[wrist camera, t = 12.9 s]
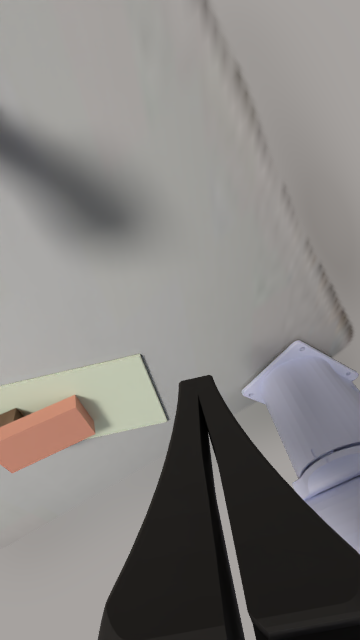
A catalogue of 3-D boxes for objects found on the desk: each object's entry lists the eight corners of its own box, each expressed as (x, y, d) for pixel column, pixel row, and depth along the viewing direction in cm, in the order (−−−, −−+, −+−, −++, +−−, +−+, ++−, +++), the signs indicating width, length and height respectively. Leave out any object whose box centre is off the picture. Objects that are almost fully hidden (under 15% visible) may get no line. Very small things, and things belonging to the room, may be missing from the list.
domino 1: (75, 407, 23) (-19, 449, 22) (95, 434, 26) (11, 473, 24) (75, 394, 24) (-15, 433, 23) (93, 421, 27) (14, 457, 25)
